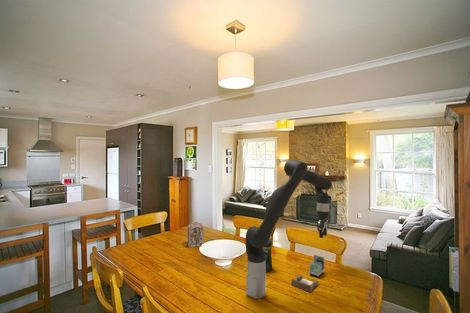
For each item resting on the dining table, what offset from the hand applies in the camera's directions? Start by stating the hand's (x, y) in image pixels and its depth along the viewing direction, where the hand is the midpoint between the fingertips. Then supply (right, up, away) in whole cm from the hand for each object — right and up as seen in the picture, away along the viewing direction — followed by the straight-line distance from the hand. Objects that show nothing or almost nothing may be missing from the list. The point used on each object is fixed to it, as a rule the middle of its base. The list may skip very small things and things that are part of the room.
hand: (323, 236), depth 148 cm
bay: (-18, -19, -21) cm, 33 cm away
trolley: (-7, -19, -9) cm, 23 cm away
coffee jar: (-37, -20, -2) cm, 42 cm away
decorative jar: (-88, -20, +39) cm, 98 cm away
